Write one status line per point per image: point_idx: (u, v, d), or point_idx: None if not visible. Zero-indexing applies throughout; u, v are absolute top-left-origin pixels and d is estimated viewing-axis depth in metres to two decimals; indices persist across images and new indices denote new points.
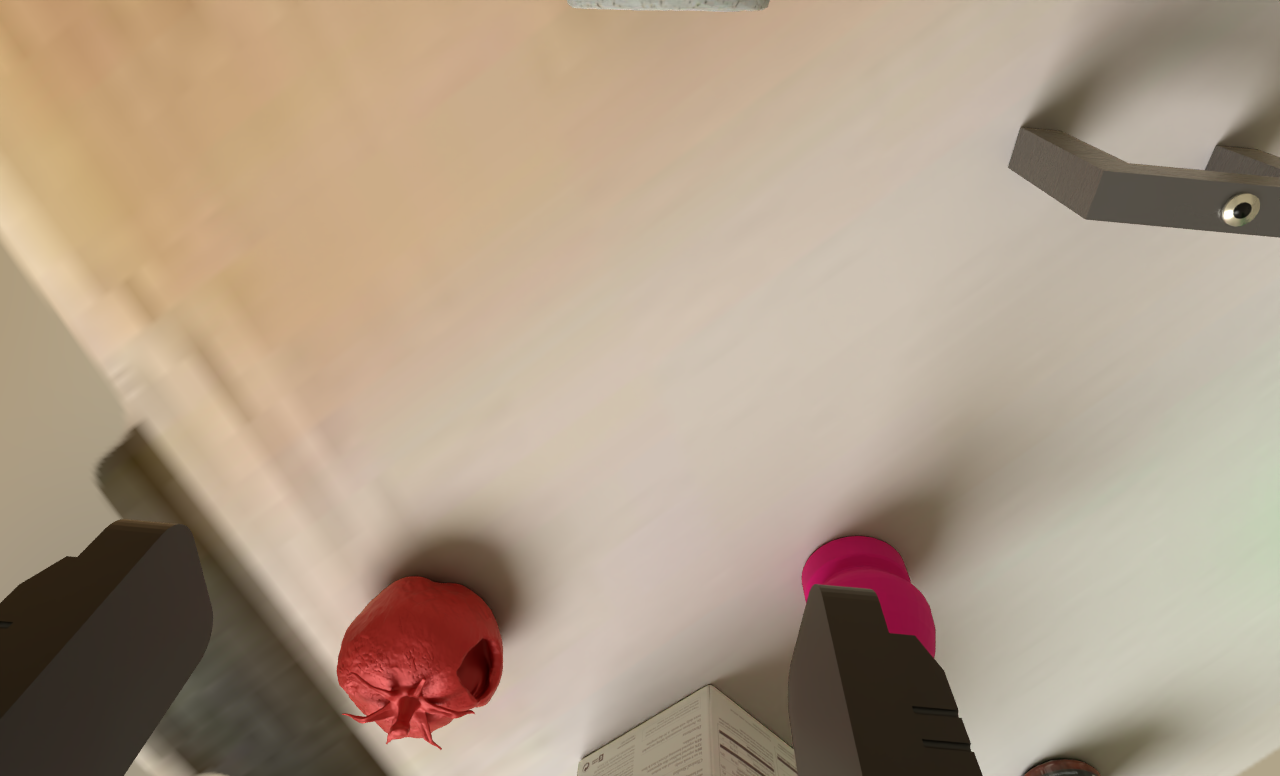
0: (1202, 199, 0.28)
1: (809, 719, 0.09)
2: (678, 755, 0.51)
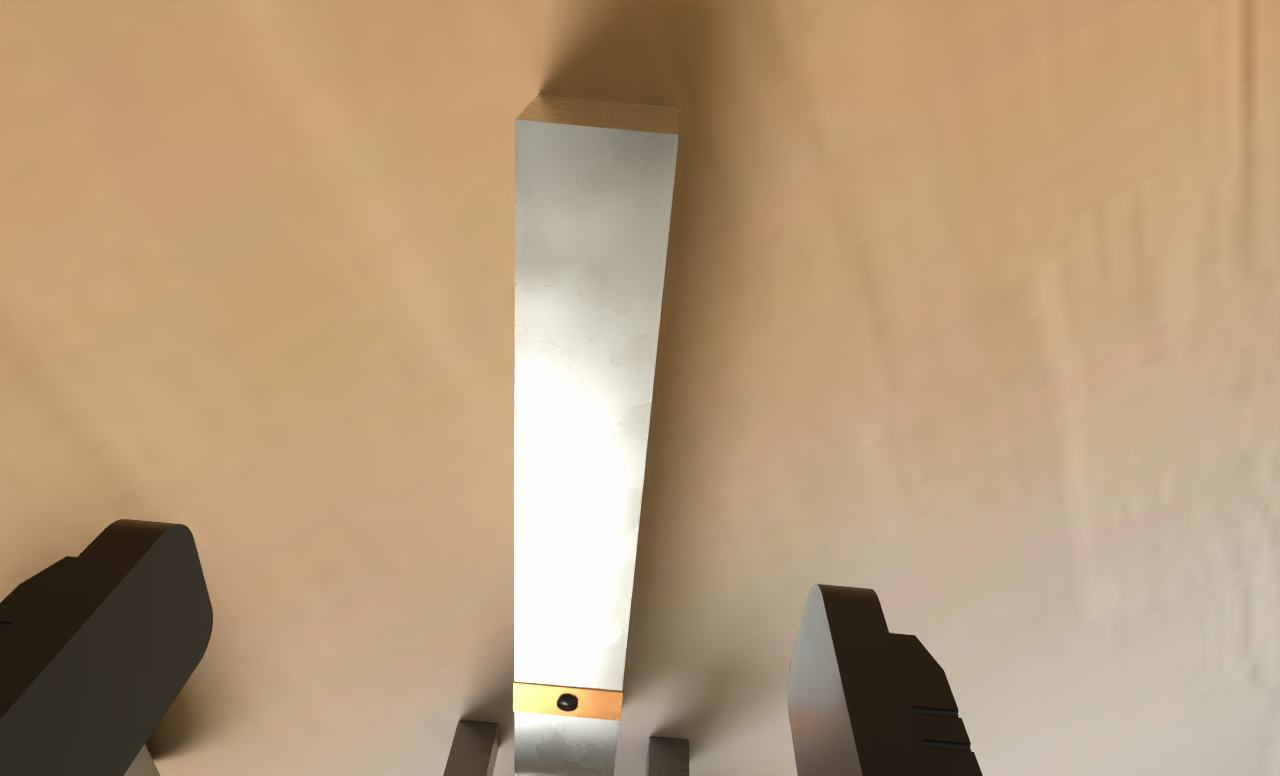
0: None
1: (809, 719, 0.09)
2: None
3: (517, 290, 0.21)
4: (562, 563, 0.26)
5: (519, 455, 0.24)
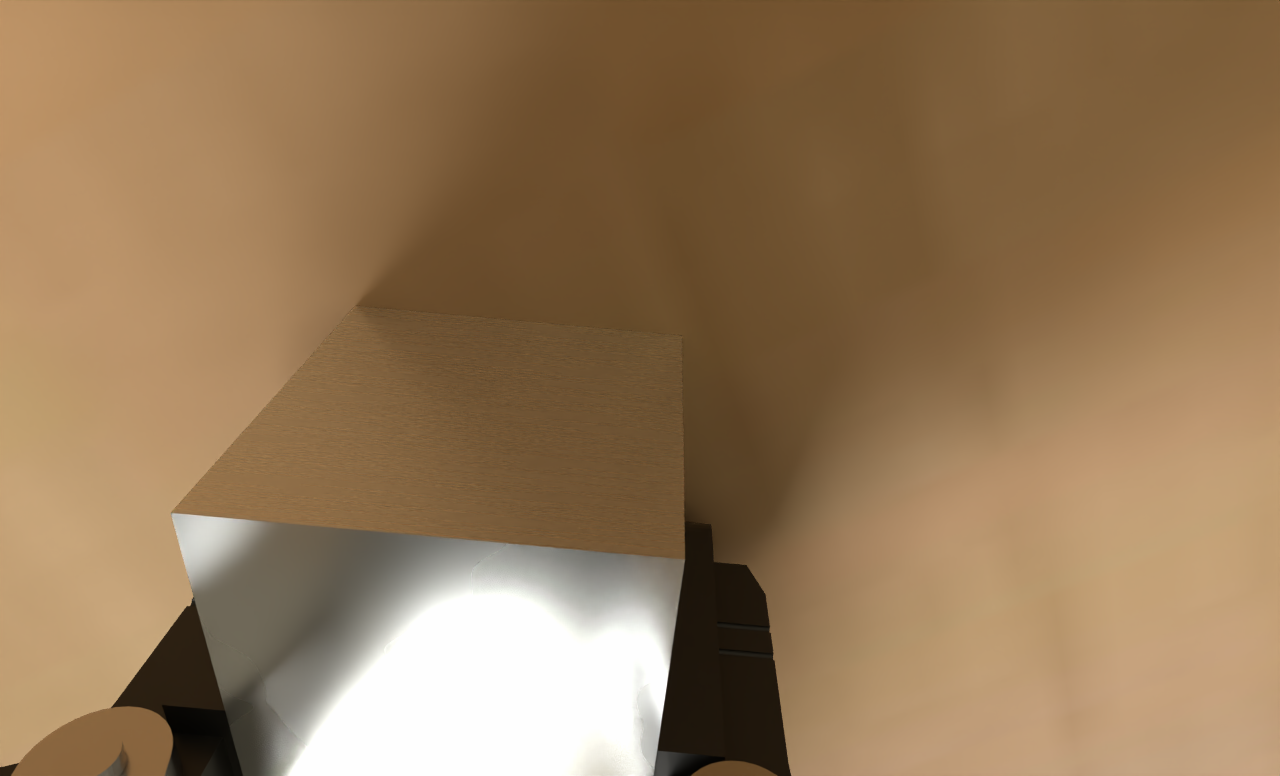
0: None
1: None
2: None
3: None
4: None
5: None
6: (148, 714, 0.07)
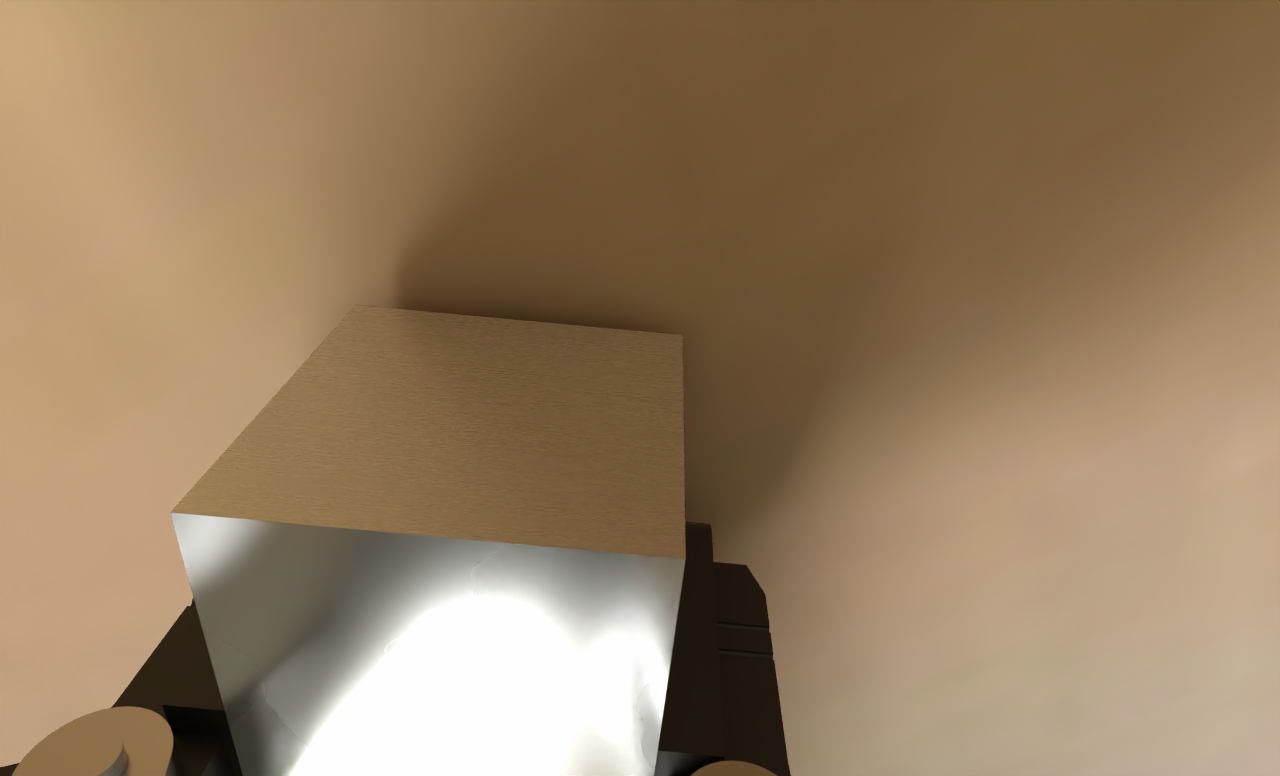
0: None
1: None
2: None
3: None
4: None
5: None
6: (148, 714, 0.07)
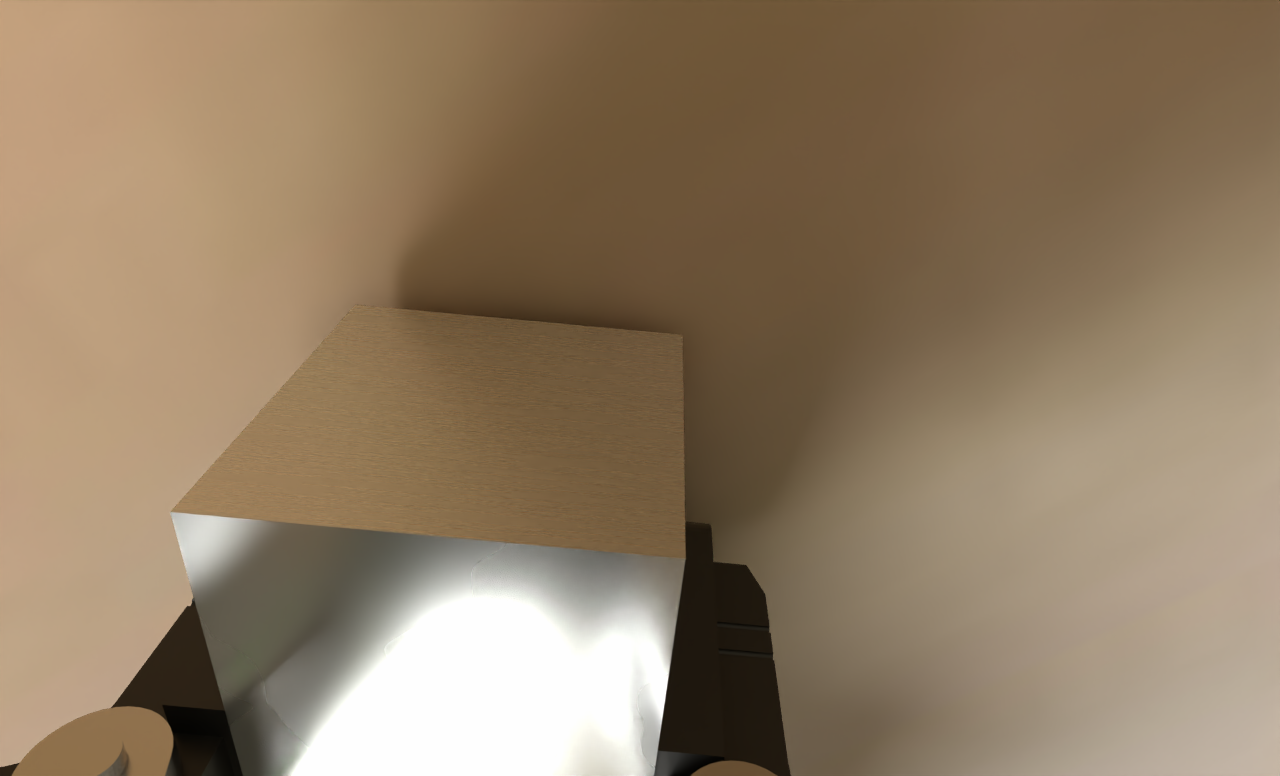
0: None
1: None
2: None
3: None
4: None
5: None
6: (148, 714, 0.07)
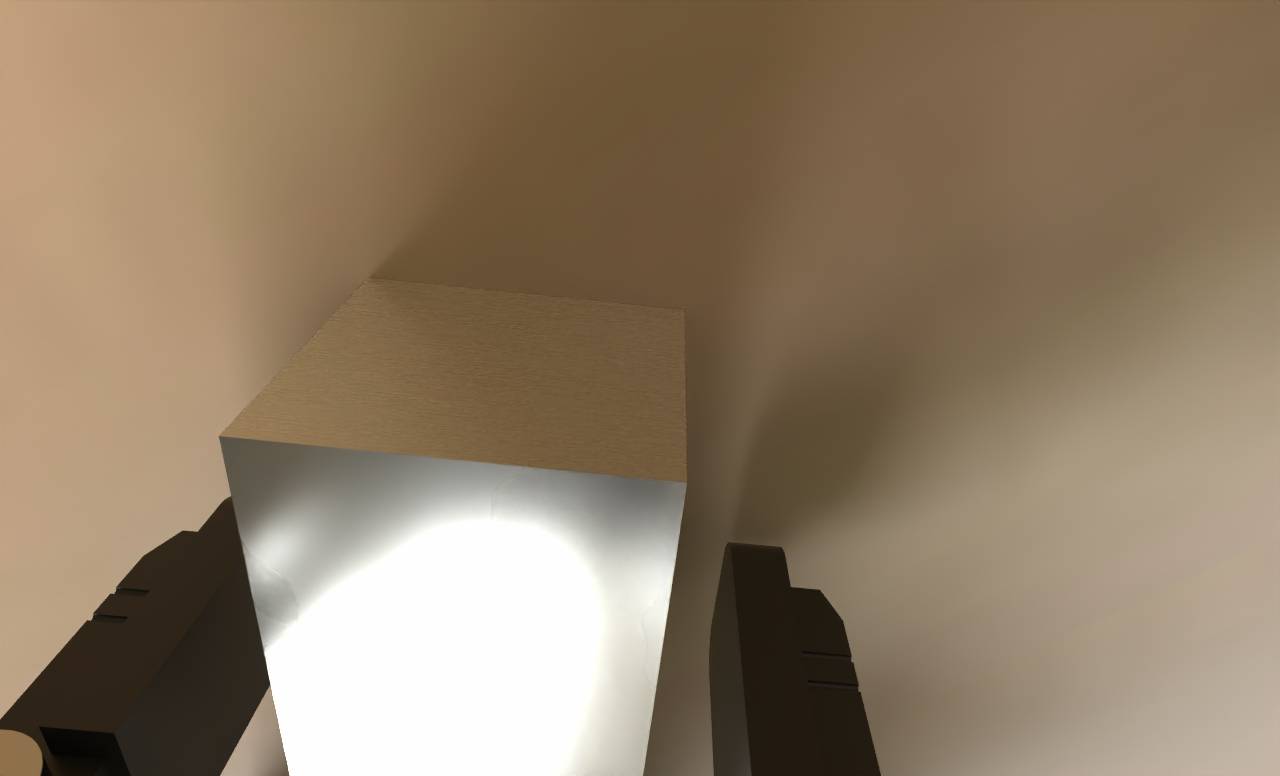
0: None
1: (719, 669, 0.10)
2: None
3: (294, 765, 0.09)
4: None
5: None
6: (21, 737, 0.07)
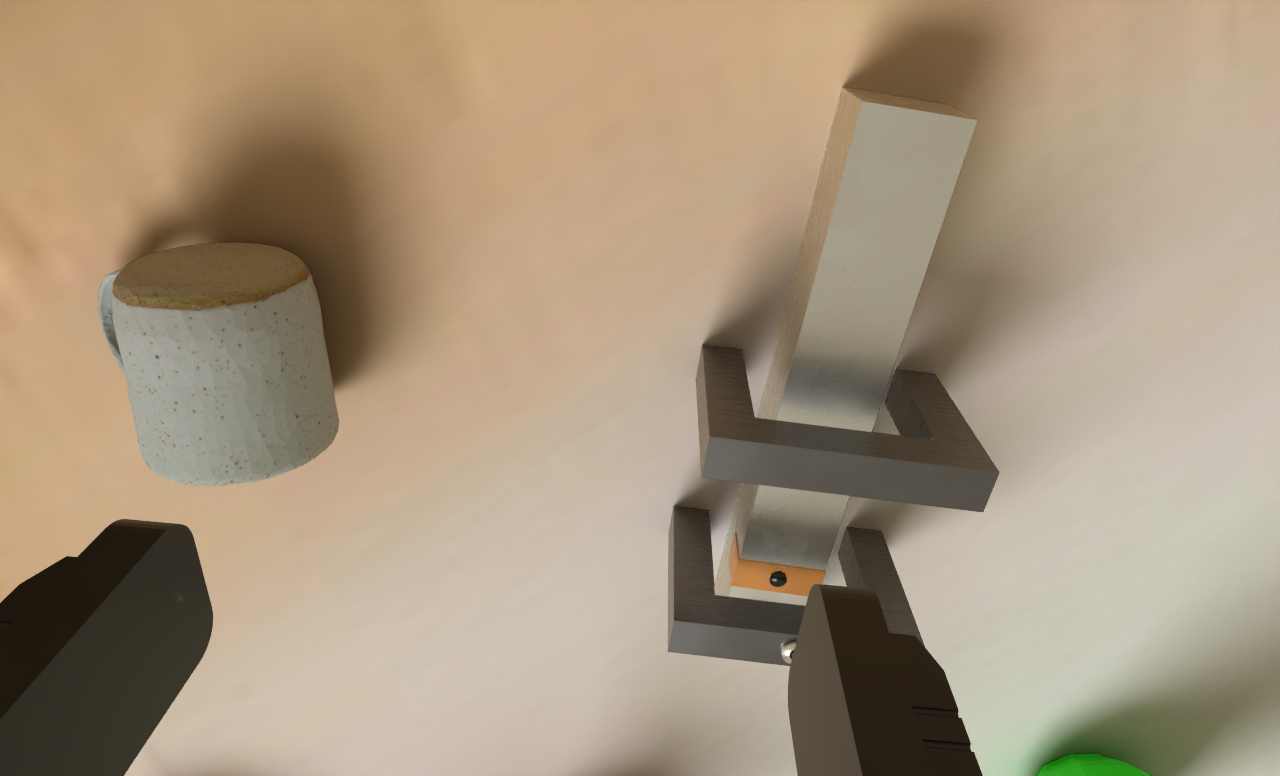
0: (763, 643, 0.33)
1: (809, 719, 0.09)
2: None
3: (829, 229, 0.28)
4: None
5: (795, 361, 0.31)
6: None
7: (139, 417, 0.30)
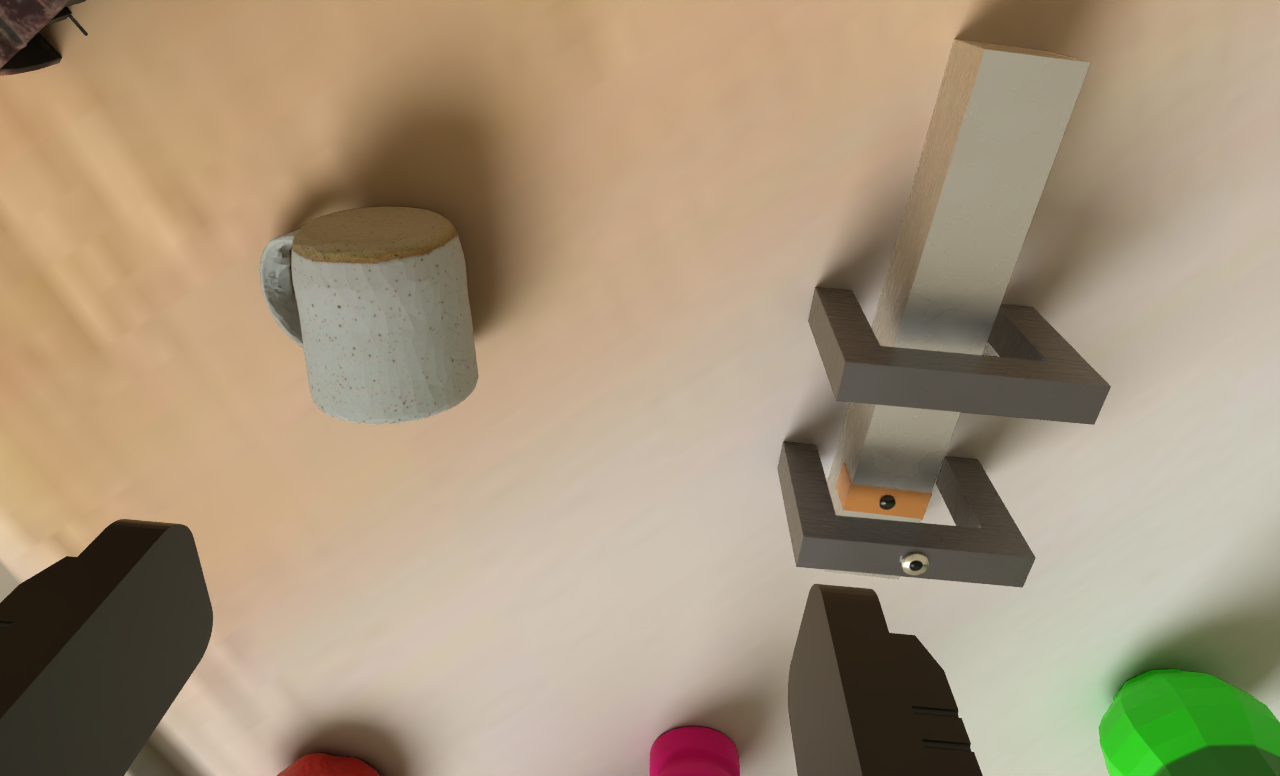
0: (885, 555, 0.36)
1: (809, 719, 0.09)
2: None
3: (949, 169, 0.31)
4: None
5: (912, 295, 0.34)
6: None
7: (317, 364, 0.33)
